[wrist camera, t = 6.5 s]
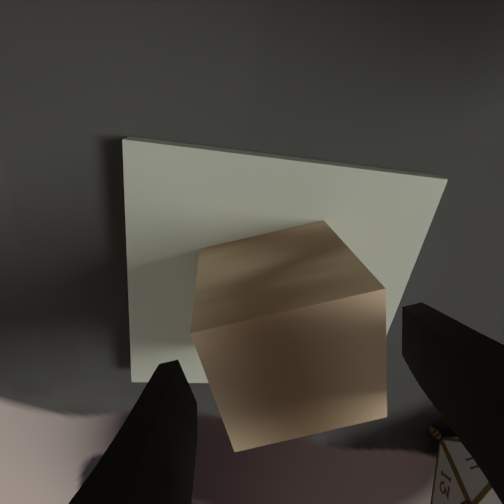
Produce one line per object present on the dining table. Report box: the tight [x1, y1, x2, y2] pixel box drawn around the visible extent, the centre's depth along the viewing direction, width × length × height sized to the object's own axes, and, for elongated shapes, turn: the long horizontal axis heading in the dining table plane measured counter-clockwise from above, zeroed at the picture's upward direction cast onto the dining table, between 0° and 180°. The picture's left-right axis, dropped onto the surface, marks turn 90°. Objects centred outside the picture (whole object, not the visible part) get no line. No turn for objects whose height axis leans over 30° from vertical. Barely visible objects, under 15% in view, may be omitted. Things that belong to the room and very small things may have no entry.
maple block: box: [190, 220, 387, 452], centre depth 11 cm, size 5×5×5 cm
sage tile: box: [122, 136, 448, 383], centre depth 14 cm, size 12×11×1 cm
